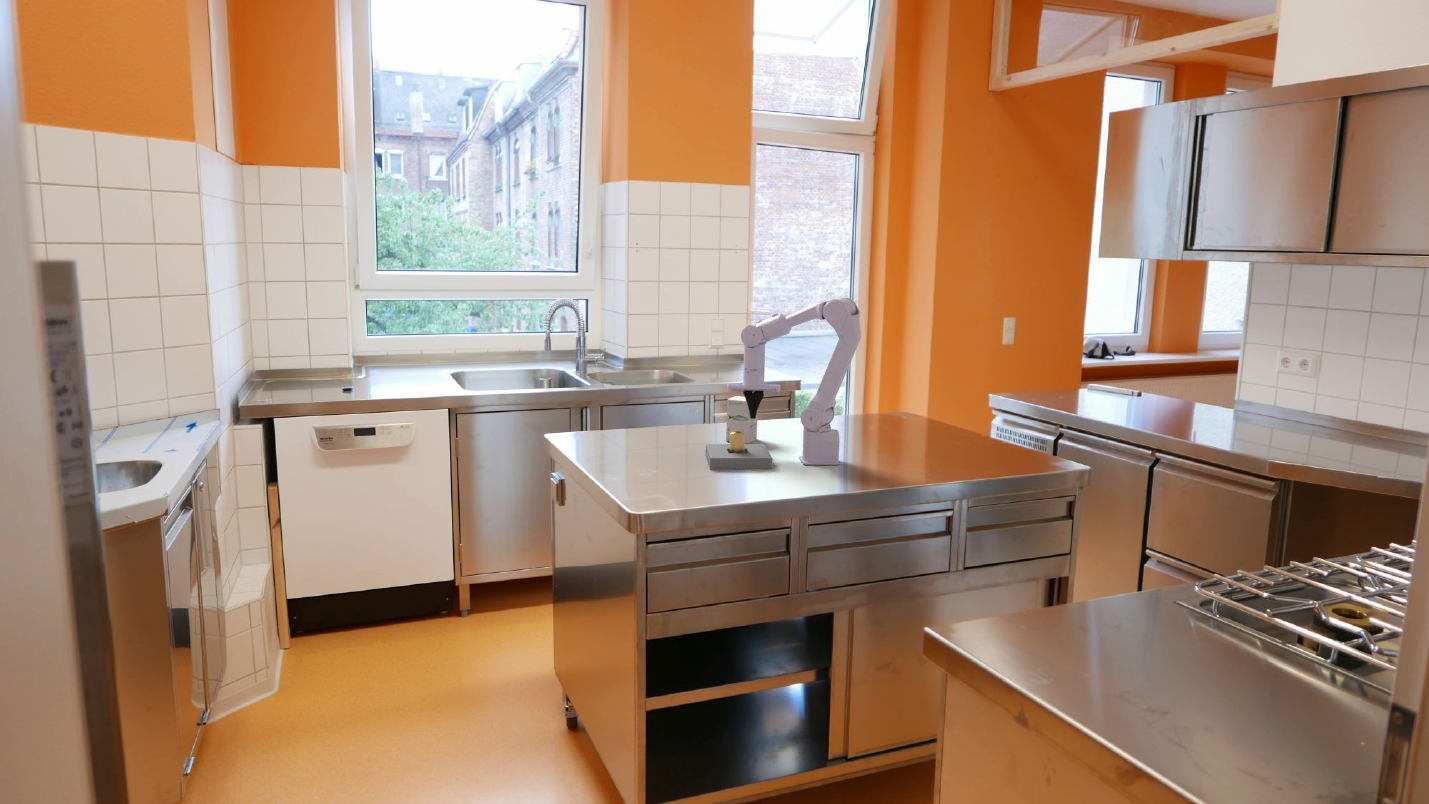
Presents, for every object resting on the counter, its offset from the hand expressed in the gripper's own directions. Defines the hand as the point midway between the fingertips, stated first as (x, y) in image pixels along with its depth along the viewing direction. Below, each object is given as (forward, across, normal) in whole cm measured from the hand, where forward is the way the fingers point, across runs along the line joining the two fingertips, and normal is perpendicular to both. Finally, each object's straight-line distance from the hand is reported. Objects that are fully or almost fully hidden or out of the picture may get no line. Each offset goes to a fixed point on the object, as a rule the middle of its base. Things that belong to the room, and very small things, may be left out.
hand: (752, 418), depth 249 cm
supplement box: (+10, +1, -16) cm, 19 cm away
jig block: (+10, +5, +10) cm, 15 cm away
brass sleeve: (+10, +5, +10) cm, 15 cm away
